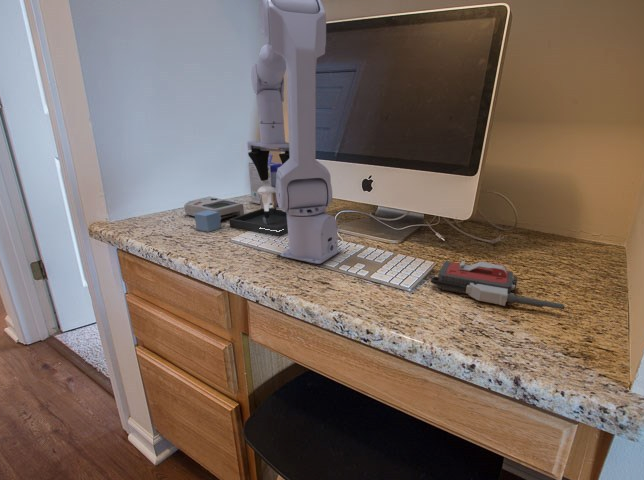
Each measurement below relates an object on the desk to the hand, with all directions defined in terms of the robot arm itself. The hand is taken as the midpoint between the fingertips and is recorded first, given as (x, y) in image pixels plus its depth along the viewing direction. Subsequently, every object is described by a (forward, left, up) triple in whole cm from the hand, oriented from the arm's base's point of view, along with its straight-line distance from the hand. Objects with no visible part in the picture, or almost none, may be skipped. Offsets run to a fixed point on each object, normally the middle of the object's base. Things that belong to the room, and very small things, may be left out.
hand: (276, 181), depth 93 cm
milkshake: (0, +3, -10) cm, 10 cm away
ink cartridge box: (+16, -14, -11) cm, 24 cm away
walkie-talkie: (-56, +17, -11) cm, 60 cm away
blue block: (+12, +13, -10) cm, 20 cm away
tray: (+1, +3, -10) cm, 11 cm away
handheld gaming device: (+20, +4, -11) cm, 23 cm away
